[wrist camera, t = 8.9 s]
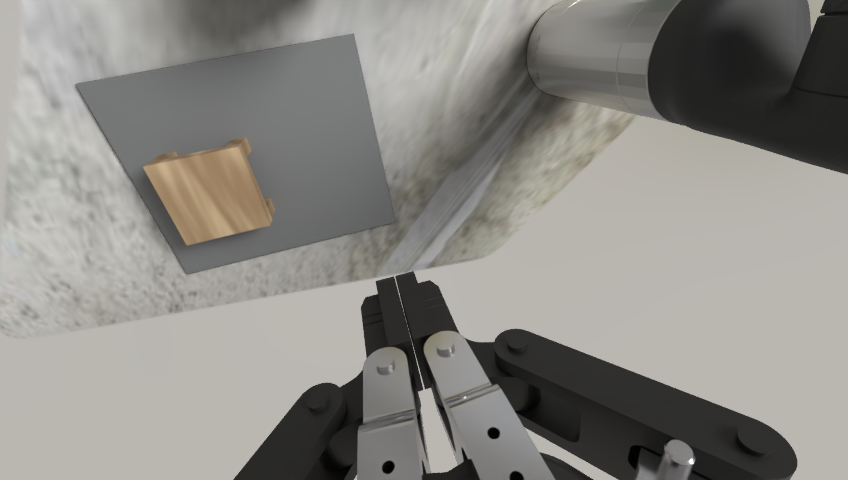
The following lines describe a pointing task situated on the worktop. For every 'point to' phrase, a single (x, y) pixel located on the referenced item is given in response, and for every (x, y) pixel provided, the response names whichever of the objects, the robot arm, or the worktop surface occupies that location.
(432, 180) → the worktop surface
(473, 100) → the worktop surface
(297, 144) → the mat
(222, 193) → the wooden bench
